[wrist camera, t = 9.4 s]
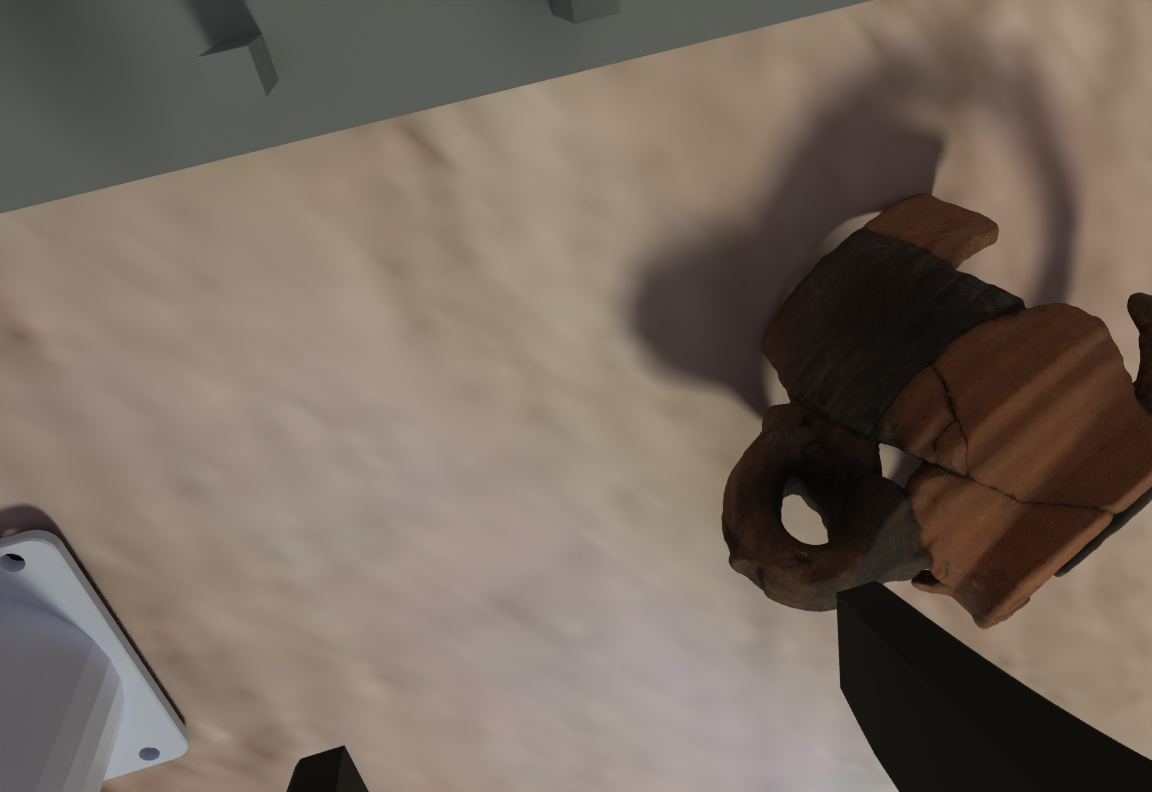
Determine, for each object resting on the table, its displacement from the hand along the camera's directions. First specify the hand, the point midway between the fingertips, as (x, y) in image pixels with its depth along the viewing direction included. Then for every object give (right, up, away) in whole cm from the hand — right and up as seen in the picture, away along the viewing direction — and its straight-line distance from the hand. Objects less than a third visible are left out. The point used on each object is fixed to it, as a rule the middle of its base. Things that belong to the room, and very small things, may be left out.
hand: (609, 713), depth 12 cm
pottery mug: (+8, +5, +11) cm, 14 cm away
